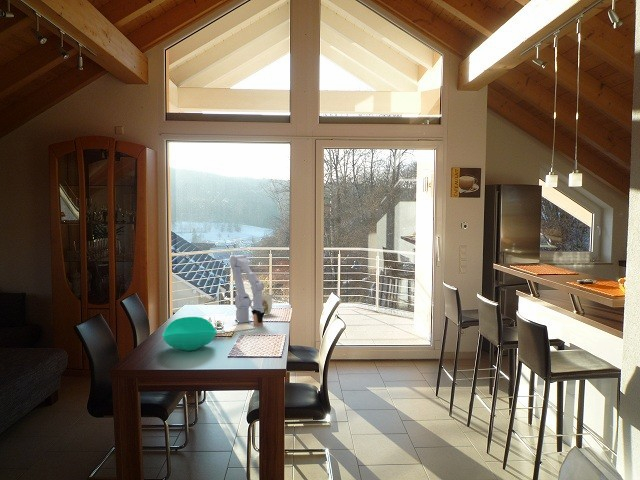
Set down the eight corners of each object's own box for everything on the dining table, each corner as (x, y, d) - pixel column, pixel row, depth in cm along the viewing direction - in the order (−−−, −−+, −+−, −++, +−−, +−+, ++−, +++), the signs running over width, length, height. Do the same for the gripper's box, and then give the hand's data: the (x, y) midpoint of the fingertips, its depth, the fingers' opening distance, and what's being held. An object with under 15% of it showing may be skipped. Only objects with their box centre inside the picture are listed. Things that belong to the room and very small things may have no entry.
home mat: (219, 328, 309) (219, 327, 309) (246, 324, 318) (246, 323, 318) (227, 332, 297) (227, 331, 297) (255, 328, 306) (255, 327, 306)
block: (253, 324, 317) (253, 313, 317) (260, 323, 320) (259, 313, 319) (256, 326, 314) (256, 315, 313) (262, 325, 316) (262, 314, 316)
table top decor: (219, 357, 248) (218, 330, 247) (161, 362, 240) (160, 335, 239) (214, 337, 286) (213, 315, 285) (164, 341, 278) (163, 318, 277)
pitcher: (251, 313, 354) (250, 294, 353) (276, 312, 355) (275, 293, 354) (249, 316, 343) (248, 296, 342) (275, 315, 344) (274, 296, 343)
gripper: (268, 301, 312) (268, 323, 312) (258, 298, 324) (259, 319, 325) (257, 303, 308) (258, 324, 309) (248, 299, 320) (249, 320, 321)
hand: (258, 321), depth 317 cm, fingers open, 5 cm apart
